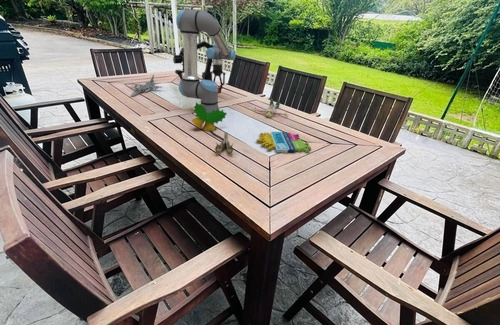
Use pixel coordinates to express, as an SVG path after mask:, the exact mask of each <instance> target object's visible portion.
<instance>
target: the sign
mask: <svg viewBox="0 0 500 325" xmlns="http://www.w3.org/2000/svg"><path fill="white" fill-rule="evenodd" d="M299 136H300V135H299V134H298V133H296V134H294V133H291V132H287V131H270V132H264V133H263V132H260V133H259V139H258V138H257V139H256V143H257V144H261V148H263V147H264V148H265V149H267V151H268V152H271V151H272V150H273V149H275V152H276V153H283V154H285V153H287V154H288V153H290V154H293V153H296V152H298V153H301V152H305V153H310V151H311V150H312V149H311V148H312V146H309V142H304V141H303V139H302V138H299Z"/></svg>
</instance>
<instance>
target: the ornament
mask: <svg viewBox="0 0 500 325" xmlns="http://www.w3.org/2000/svg"><path fill="white" fill-rule="evenodd" d="M219 110H220V108H219V109H217V110H216V111H214V110H212V112H211V113H208V112H206V109H204V106H201V103H198V102H195V105H194V106H193V112H194V113H195V118H192V119H191V122H192V123H193V125H195V127H197V128H198V129H202V130H203V131H206V132H211V131H212V132H214V131H215V130H216V126H215V124H218V123H219V122H223V119H226V115H227V114H228V113H227V112H224V110H223V109H221V110H220V111H219ZM207 113H208V115H207ZM214 123H215V124H214ZM210 130H211V131H210Z"/></svg>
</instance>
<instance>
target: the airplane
mask: <svg viewBox="0 0 500 325" xmlns="http://www.w3.org/2000/svg"><path fill="white" fill-rule="evenodd" d="M154 78H155V74H152V76H151V78H150V80H149V81H144V83H145V84H139V83H133V82H132V83H130V85H134V86H133V87H132V88H133V89H135V88H136V89H135V90H134V91H132V92H131V94H130V95H129V96H128V97H135V96H137V95H139V94H141V93H148V92H150V91H151V90H153V91H156V90H158V88H161V86H159V85H160V84H161V83H160V82H155V81H154Z"/></svg>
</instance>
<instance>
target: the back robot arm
mask: <svg viewBox="0 0 500 325" xmlns="http://www.w3.org/2000/svg"><path fill="white" fill-rule="evenodd" d="M202 48H205V49H206V50H207V49H209V48H213V44H210V43H208V42H207V41H205V40H202V41H200V42H197V50H199V49H202ZM172 62H173V64H181V66H182V70H181V69H175V70H174V73H175V74H176V75H178V77H179V79H180V81H181V80H182V77H183V74H184V46H183V47H181V49H180V52H179V54H173V58H172ZM212 66H213V59H209V58H208V57H207V58H206V64H205V69H204V71H203V72H202V73H201V80H210V72H211V70H212Z"/></svg>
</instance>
